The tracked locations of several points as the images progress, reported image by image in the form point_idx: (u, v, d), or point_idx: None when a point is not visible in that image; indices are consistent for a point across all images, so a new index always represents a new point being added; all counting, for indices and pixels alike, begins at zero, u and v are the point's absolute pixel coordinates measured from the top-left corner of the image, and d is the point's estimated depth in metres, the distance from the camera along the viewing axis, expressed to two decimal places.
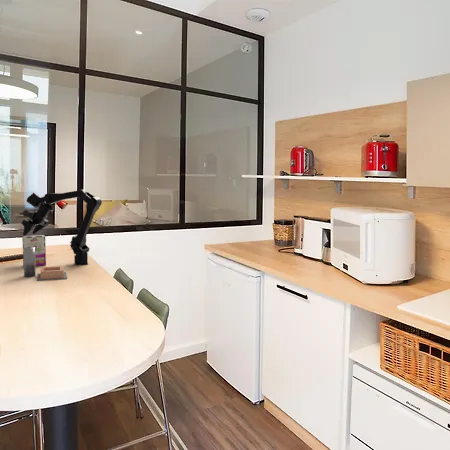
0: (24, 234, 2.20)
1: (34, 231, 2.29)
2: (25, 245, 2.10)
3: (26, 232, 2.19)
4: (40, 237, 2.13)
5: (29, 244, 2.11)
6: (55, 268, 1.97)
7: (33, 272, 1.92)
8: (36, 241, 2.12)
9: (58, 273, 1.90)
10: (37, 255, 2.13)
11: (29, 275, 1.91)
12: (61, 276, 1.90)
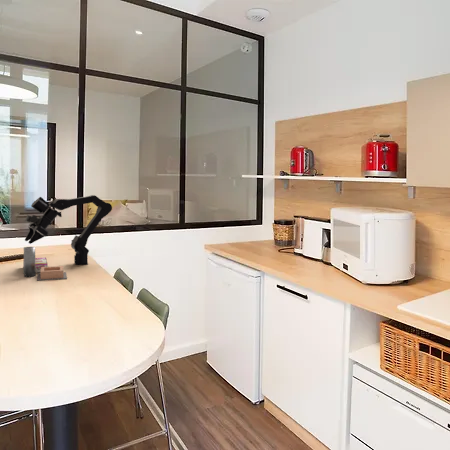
0: (31, 241, 2.02)
1: (27, 238, 2.10)
2: None
3: (35, 239, 2.03)
4: None
5: None
6: (55, 268, 1.97)
7: (33, 272, 1.92)
8: None
9: (58, 273, 1.90)
10: None
11: (29, 275, 1.91)
12: (61, 276, 1.90)
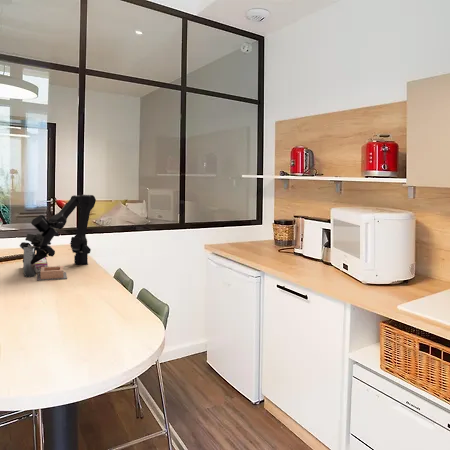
0: (33, 262, 1.91)
1: None
2: None
3: (38, 259, 1.92)
4: None
5: None
6: (55, 268, 1.97)
7: (33, 272, 1.92)
8: None
9: (58, 273, 1.90)
10: None
11: (29, 275, 1.91)
12: (61, 276, 1.90)
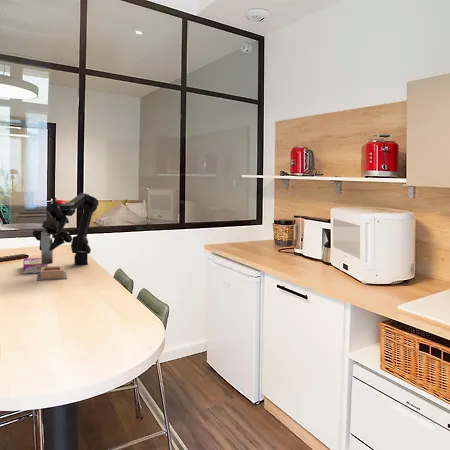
0: (52, 248, 1.91)
1: None
2: None
3: (56, 246, 1.92)
4: None
5: None
6: (55, 268, 1.97)
7: (51, 259, 1.92)
8: None
9: (58, 273, 1.90)
10: None
11: (48, 262, 1.90)
12: (61, 276, 1.90)
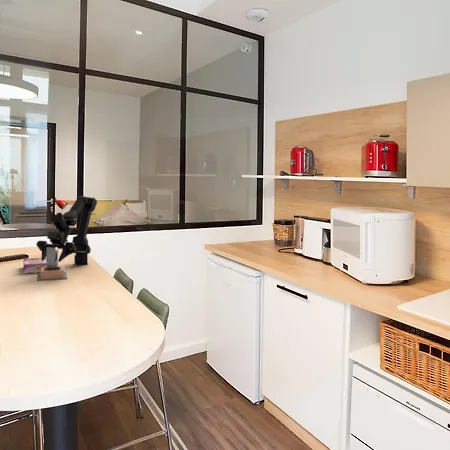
0: (61, 259, 1.91)
1: (43, 257, 1.92)
2: None
3: (64, 256, 1.93)
4: None
5: None
6: None
7: None
8: None
9: (58, 273, 1.90)
10: None
11: None
12: (61, 276, 1.90)
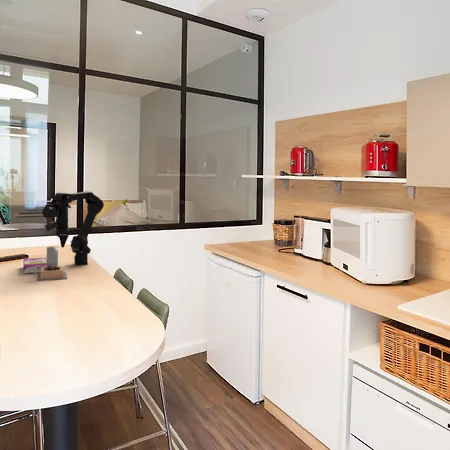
0: (63, 245, 2.06)
1: None
2: None
3: (64, 241, 2.05)
4: None
5: None
6: None
7: None
8: None
9: (58, 273, 1.90)
10: None
11: None
12: (61, 276, 1.90)
